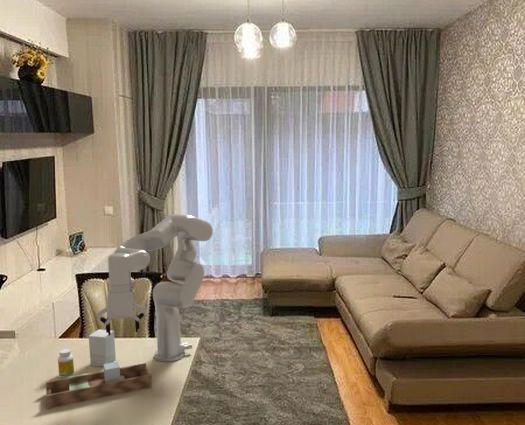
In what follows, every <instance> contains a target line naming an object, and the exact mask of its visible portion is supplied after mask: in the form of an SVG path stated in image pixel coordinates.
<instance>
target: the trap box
mask: <svg viewBox="0 0 525 425" xmlns="http://www.w3.org/2000/svg"><path fill="white" fill-rule="evenodd" d="M152 387H153V384H152V374H151V373H150V374H149V371H148V370H147V363H146V362H144V363H139V364H133V365H128V366H124V367H120V380H119V381H114V382H109V383H105V379H104V370H101V371H96V372H91V373H90V372H89V373H88V372H87V373H82V374H76V375H75V374H74V375H72V376H70V377H66V378H59V379H53V380H48V381H45V392H46V393H45V405H46V410H48V409H53V408H57V407H62V406H67V405H68V406H69V405H73V404H77V403H82V402H87V401H92V400H96V399H101V398H104V397H106V398H107V397H110V396H115V395H121V394H126V393H129V392H135V391H139V390H143V389H149V388H152Z"/></svg>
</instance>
